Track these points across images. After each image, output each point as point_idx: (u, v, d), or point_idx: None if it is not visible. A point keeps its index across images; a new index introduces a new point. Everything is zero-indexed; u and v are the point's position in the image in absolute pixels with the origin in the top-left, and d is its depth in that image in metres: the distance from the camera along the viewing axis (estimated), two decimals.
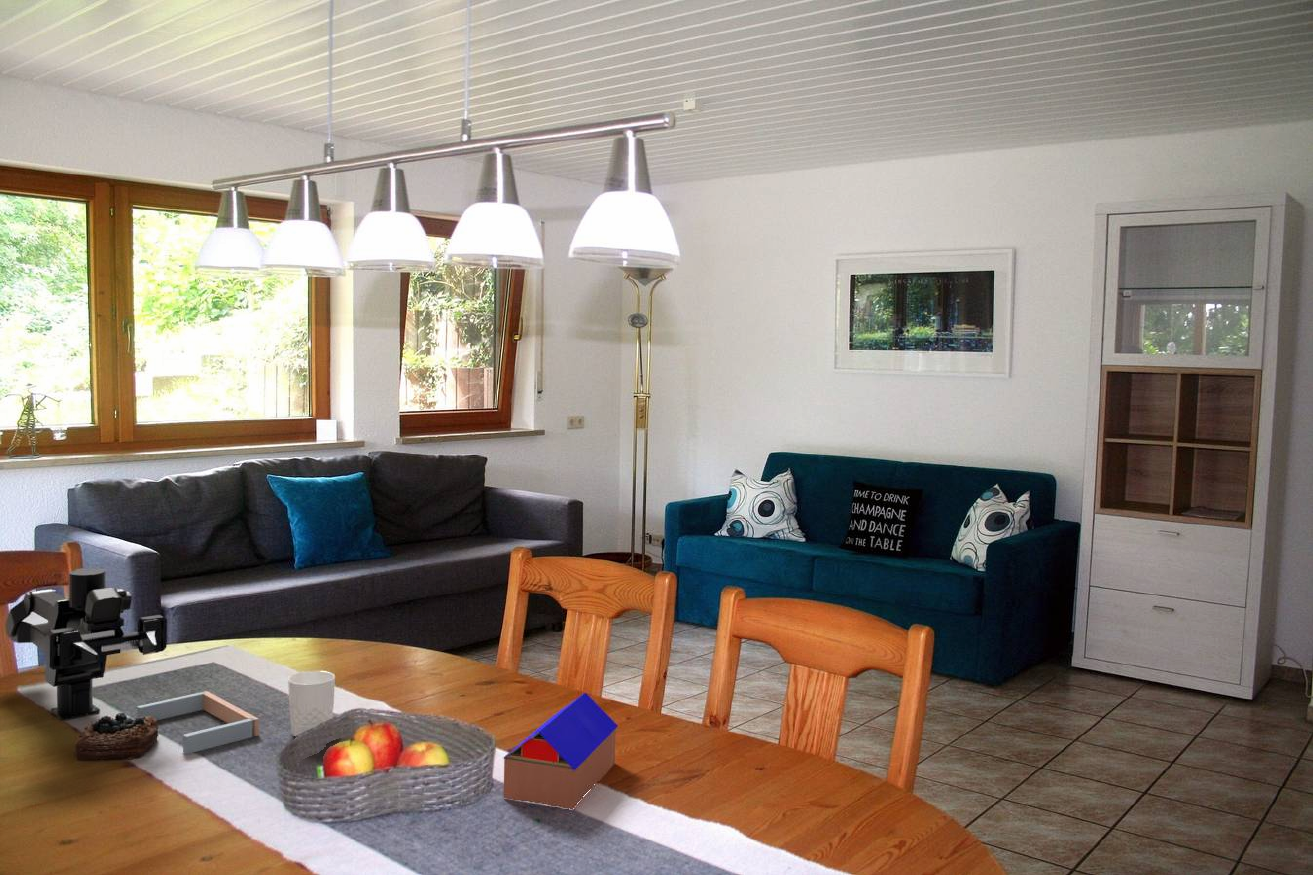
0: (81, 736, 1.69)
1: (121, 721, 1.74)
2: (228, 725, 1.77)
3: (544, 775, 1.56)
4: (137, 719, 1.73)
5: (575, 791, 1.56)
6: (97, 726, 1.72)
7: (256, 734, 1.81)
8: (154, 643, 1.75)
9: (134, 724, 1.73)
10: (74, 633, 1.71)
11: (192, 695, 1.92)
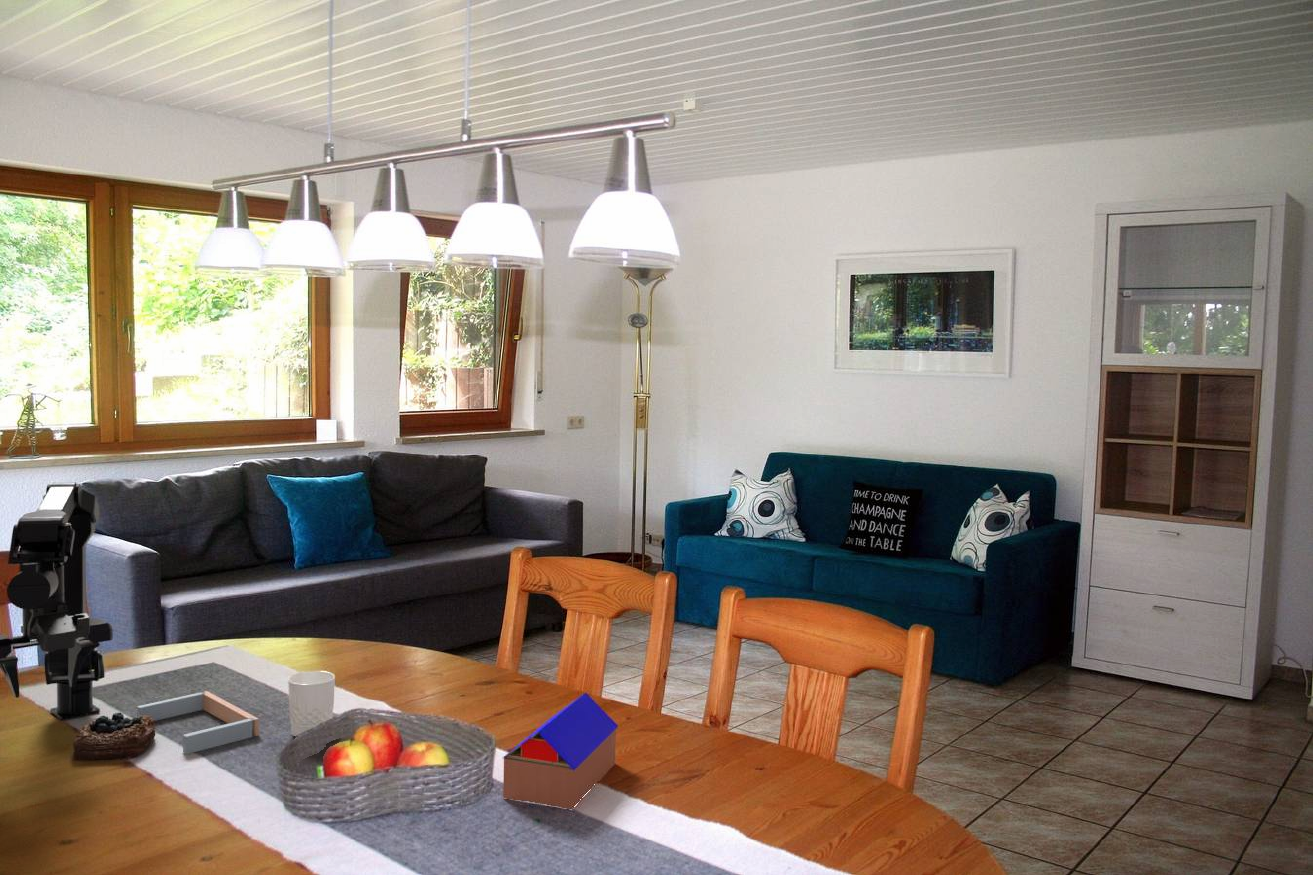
0: (79, 736, 1.69)
1: (118, 721, 1.74)
2: (228, 725, 1.77)
3: (544, 775, 1.56)
4: (135, 718, 1.73)
5: (575, 791, 1.56)
6: (95, 726, 1.72)
7: (256, 734, 1.81)
8: (73, 682, 1.67)
9: (132, 724, 1.73)
10: (12, 661, 1.58)
11: (192, 695, 1.92)
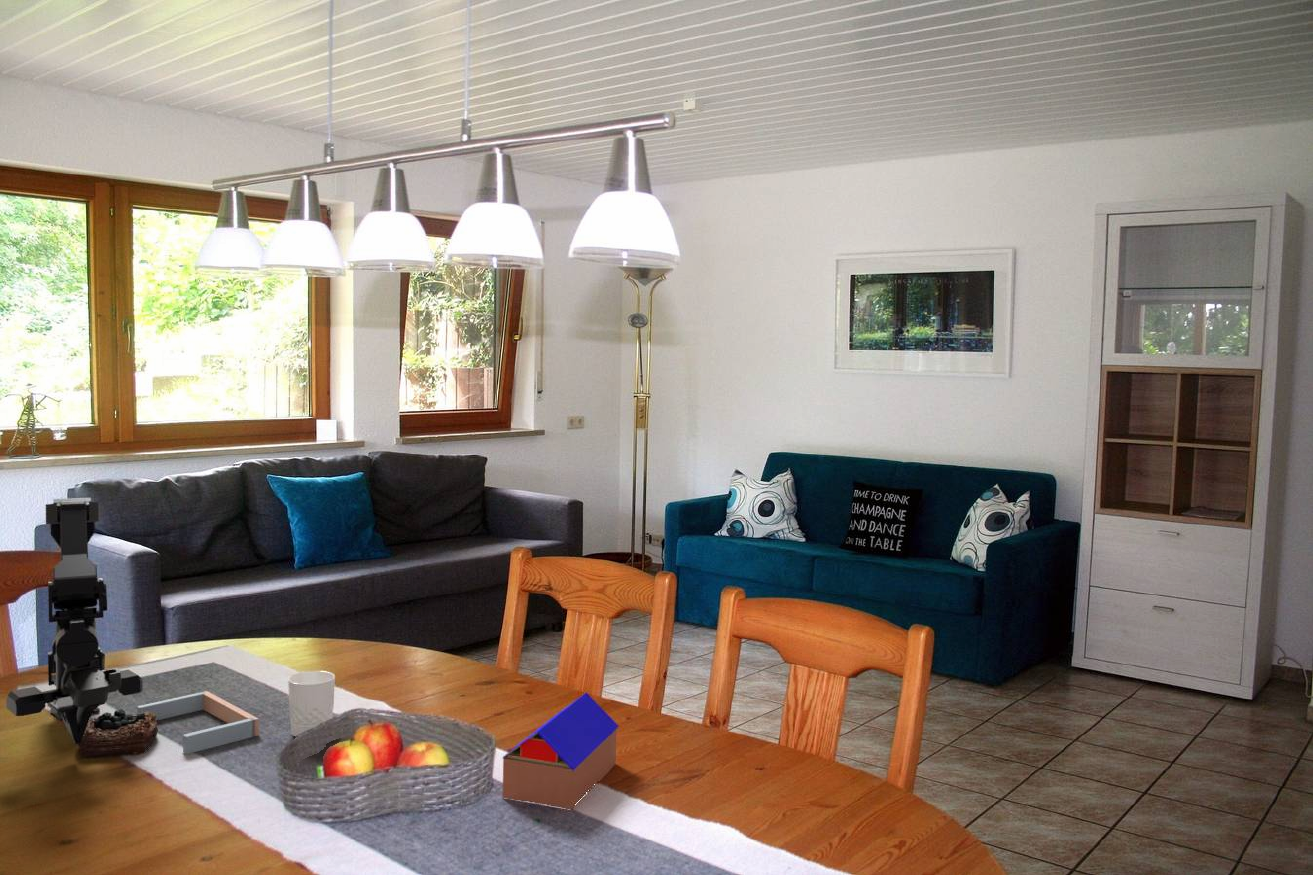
0: (84, 733, 1.70)
1: (122, 717, 1.75)
2: (228, 725, 1.77)
3: (543, 775, 1.56)
4: (139, 714, 1.75)
5: (574, 791, 1.56)
6: (98, 723, 1.73)
7: (256, 734, 1.81)
8: (79, 739, 1.68)
9: (136, 719, 1.75)
10: (72, 710, 1.65)
11: (192, 695, 1.92)
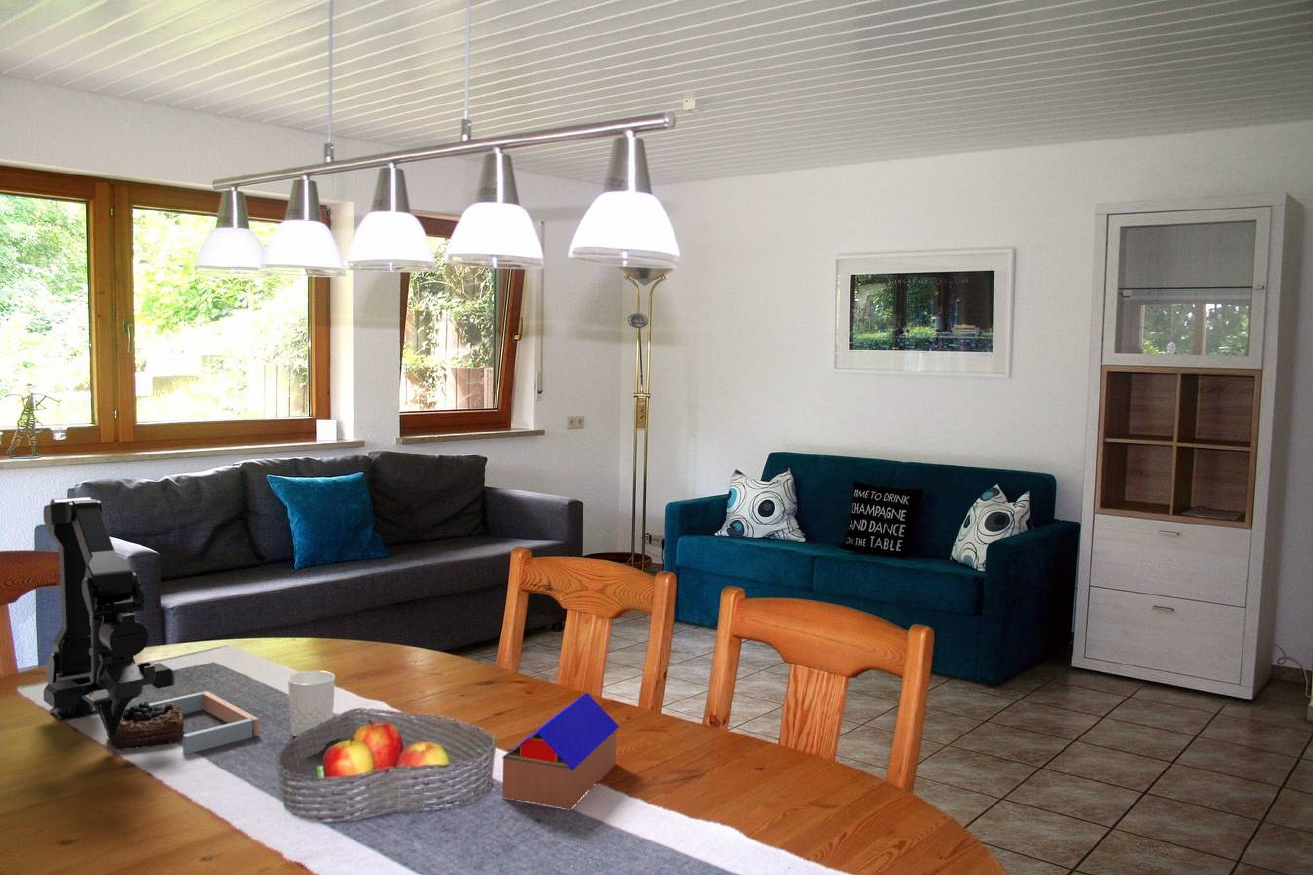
0: None
1: (150, 709, 1.79)
2: (228, 725, 1.77)
3: (542, 775, 1.56)
4: (167, 705, 1.80)
5: (573, 791, 1.56)
6: (128, 715, 1.77)
7: (256, 734, 1.81)
8: (114, 731, 1.72)
9: (165, 710, 1.80)
10: (107, 702, 1.69)
11: (192, 695, 1.92)
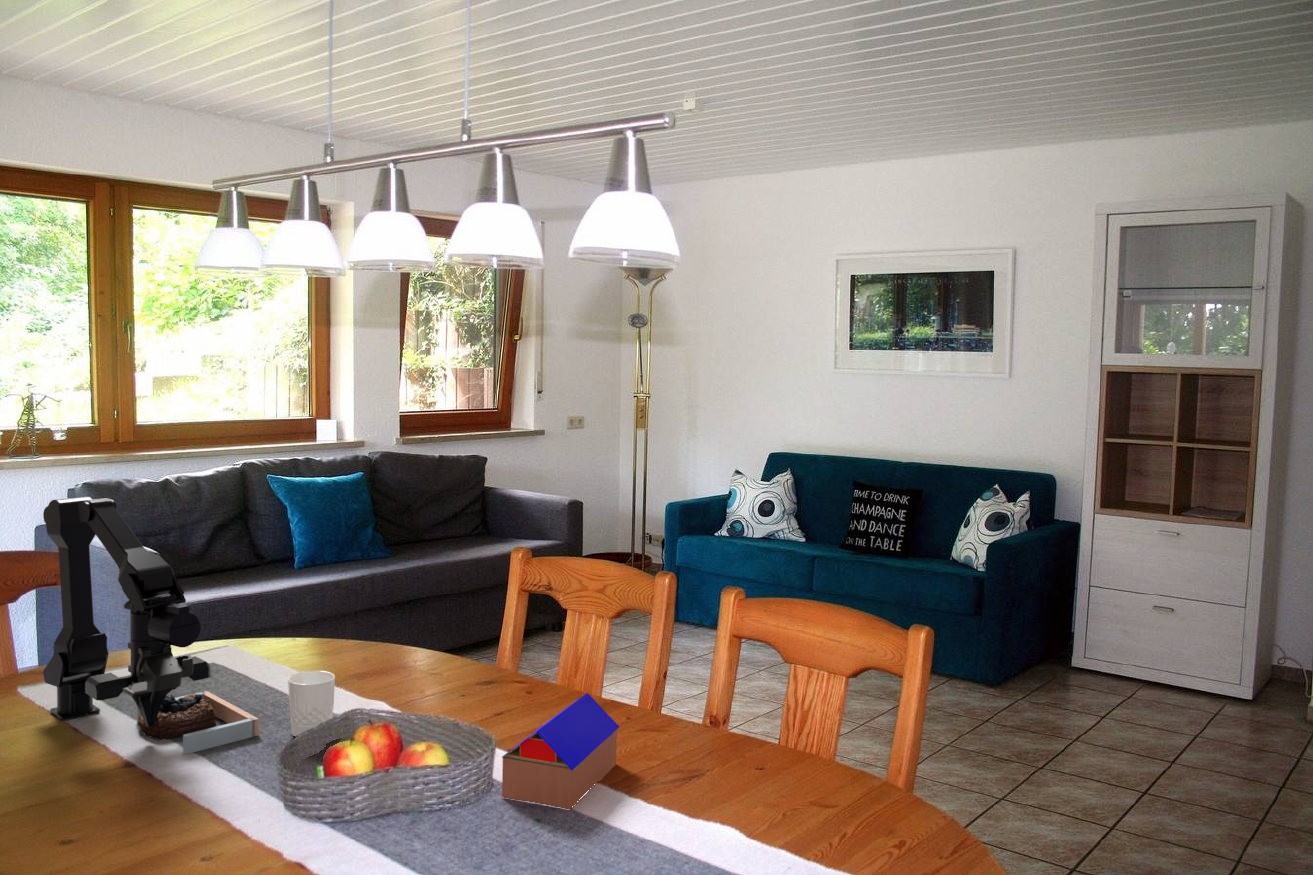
0: (159, 717, 1.79)
1: (180, 700, 1.85)
2: (228, 725, 1.77)
3: (542, 775, 1.56)
4: (198, 695, 1.86)
5: (573, 791, 1.56)
6: (163, 708, 1.82)
7: (256, 734, 1.81)
8: (153, 722, 1.77)
9: (196, 700, 1.85)
10: (147, 694, 1.74)
11: None
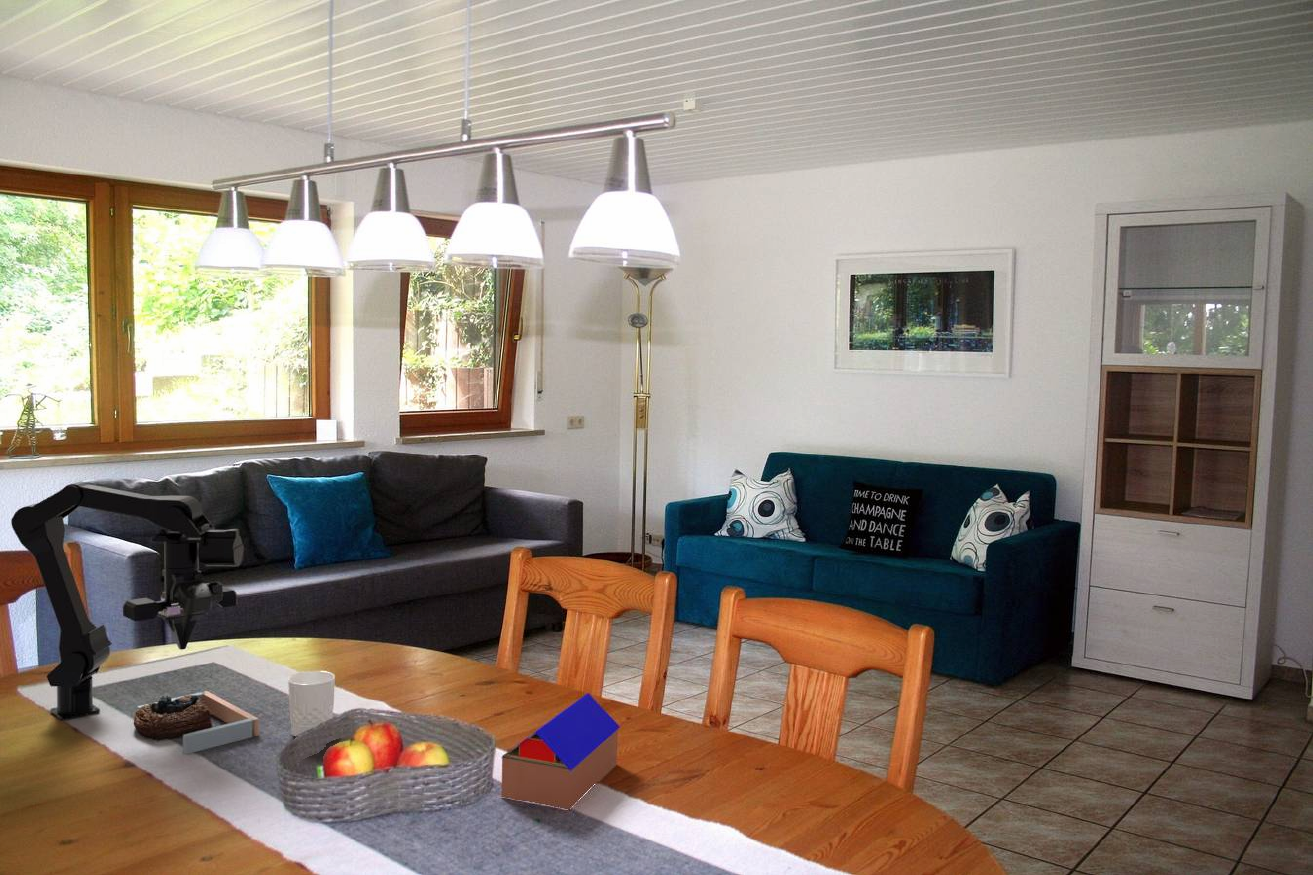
0: (155, 718, 1.78)
1: (176, 701, 1.84)
2: (228, 725, 1.77)
3: (541, 775, 1.56)
4: (194, 696, 1.85)
5: (572, 791, 1.56)
6: (159, 709, 1.81)
7: (256, 734, 1.81)
8: (185, 645, 1.90)
9: (192, 701, 1.85)
10: (180, 618, 1.87)
11: None
